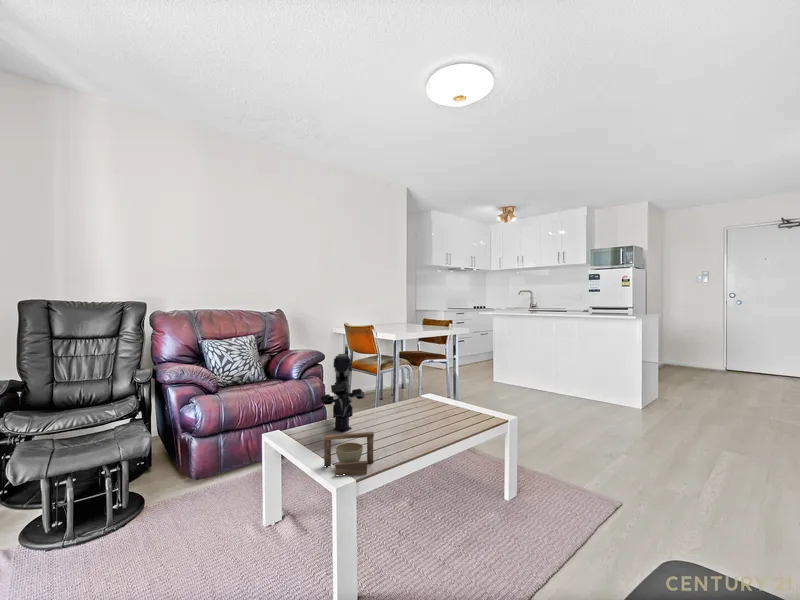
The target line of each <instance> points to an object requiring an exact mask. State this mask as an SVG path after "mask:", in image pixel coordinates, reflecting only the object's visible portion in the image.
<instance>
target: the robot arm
mask: <svg viewBox="0 0 800 600" xmlns="http://www.w3.org/2000/svg"><path fill="white" fill-rule="evenodd" d="M334 357H335V358H333V368H334V373H335V382H334V384H333V385H330V388H331V389H330V390H331V394H332V393H333V395H331V394H329V393H328V394H322V395H321V396H320V399H319V402H320V403H321V404H322V405H324V406H328V405H332V404H333V403H334V404H333V405H332V406H333V407H332V416H333V419H334V418H335V421H334V427H333V428H332V430H333V431H337V432H340V433H344V432H346V431H349V430H351V429H352V427H351V426H350V418H352V417H353V411H354V410H353V405H352V403H353V400H352V398H356V399H357V400H362V399H363V400H364V399H365V397H366V395H365V392H364V391H363V389H361V388H355V389H352V390H351V392H349V391H350V389H349V388H350V384H349V377H350V372H351V371H352V366H353V363H352V362H353V361H352V359H351V358H350V356H349V355H348V354H347V353H339V354H337V355H336V356H334Z"/></svg>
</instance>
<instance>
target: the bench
mask: <svg viewBox="0 0 800 600" xmlns="http://www.w3.org/2000/svg"><path fill="white" fill-rule="evenodd" d="M360 438H361V439H362V438H366V460H359V461H356V462H345V463H340V462H336V463H335V465H334V466H335V471H334V472H335V474H336V475H343V474H345V475H346V476H354V475H357V476H358V475H364V474H366V475H367V473H368V471H367V470H368V464H373V463H374V438H375V433H374V431H367V432H366V431H364V432H363V431H362V432H350V433H349V432H348V433H337V434H336V433H335V434H325V435H323V439H324V440H323V441H324V442H323V443H324V444H323V445H324V446H323V450H324V451H323V453H324V455H323V457H324V458H323V462H324V463H323V466H326V467H325V468H329V467H328V466H330V467H331V466H332V441H333V440H345V439H346V440H347V439H360ZM336 475H335V476H336Z"/></svg>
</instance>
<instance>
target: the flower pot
mask: <svg viewBox="0 0 800 600" xmlns="http://www.w3.org/2000/svg"><path fill="white" fill-rule="evenodd" d="M363 448H364V445H362V443H359V442H344V443H341V444H338V445H337V446H336V447H335V451H336V457H337V460H338V463H345V462H356V461H361V458H362V454H363Z"/></svg>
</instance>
